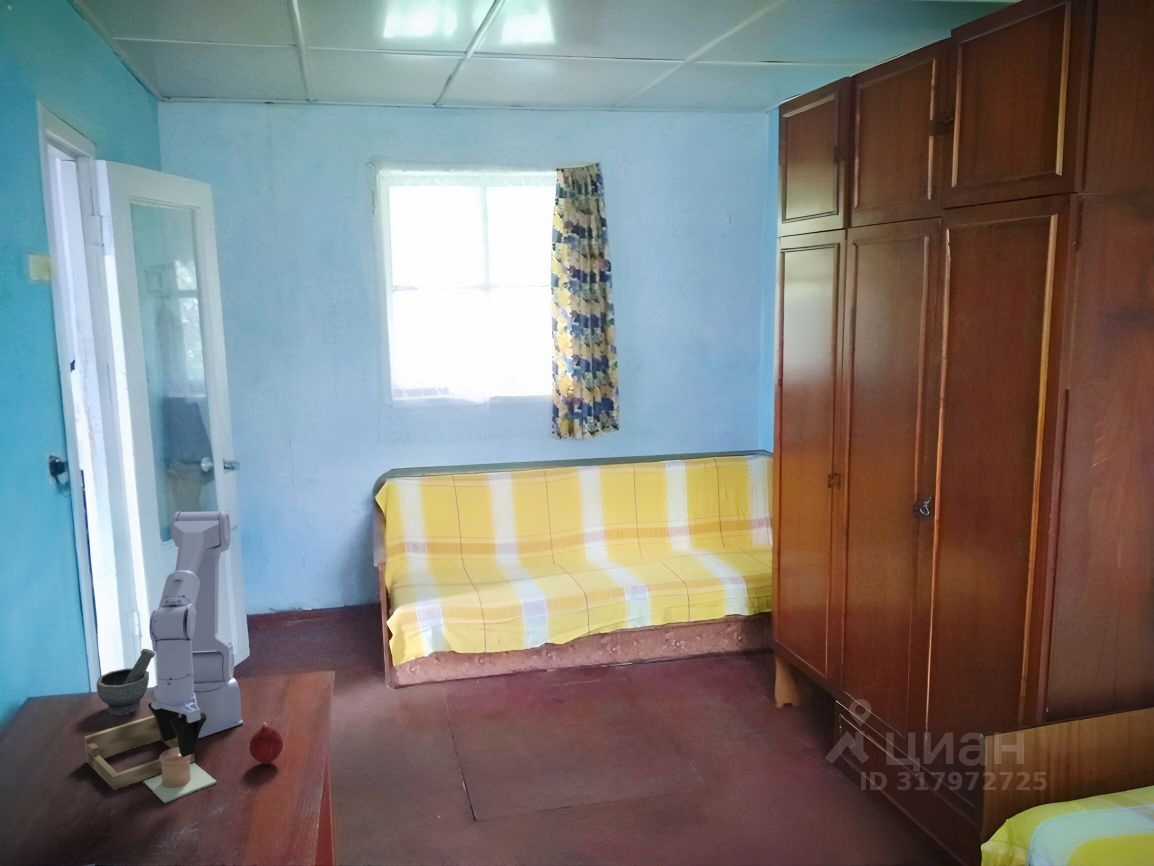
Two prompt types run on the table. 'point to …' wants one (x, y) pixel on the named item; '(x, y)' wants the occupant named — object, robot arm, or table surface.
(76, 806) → the table surface
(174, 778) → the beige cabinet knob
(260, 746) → the onion
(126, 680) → the mortar and pestle
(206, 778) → the mat
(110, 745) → the wooden frame
